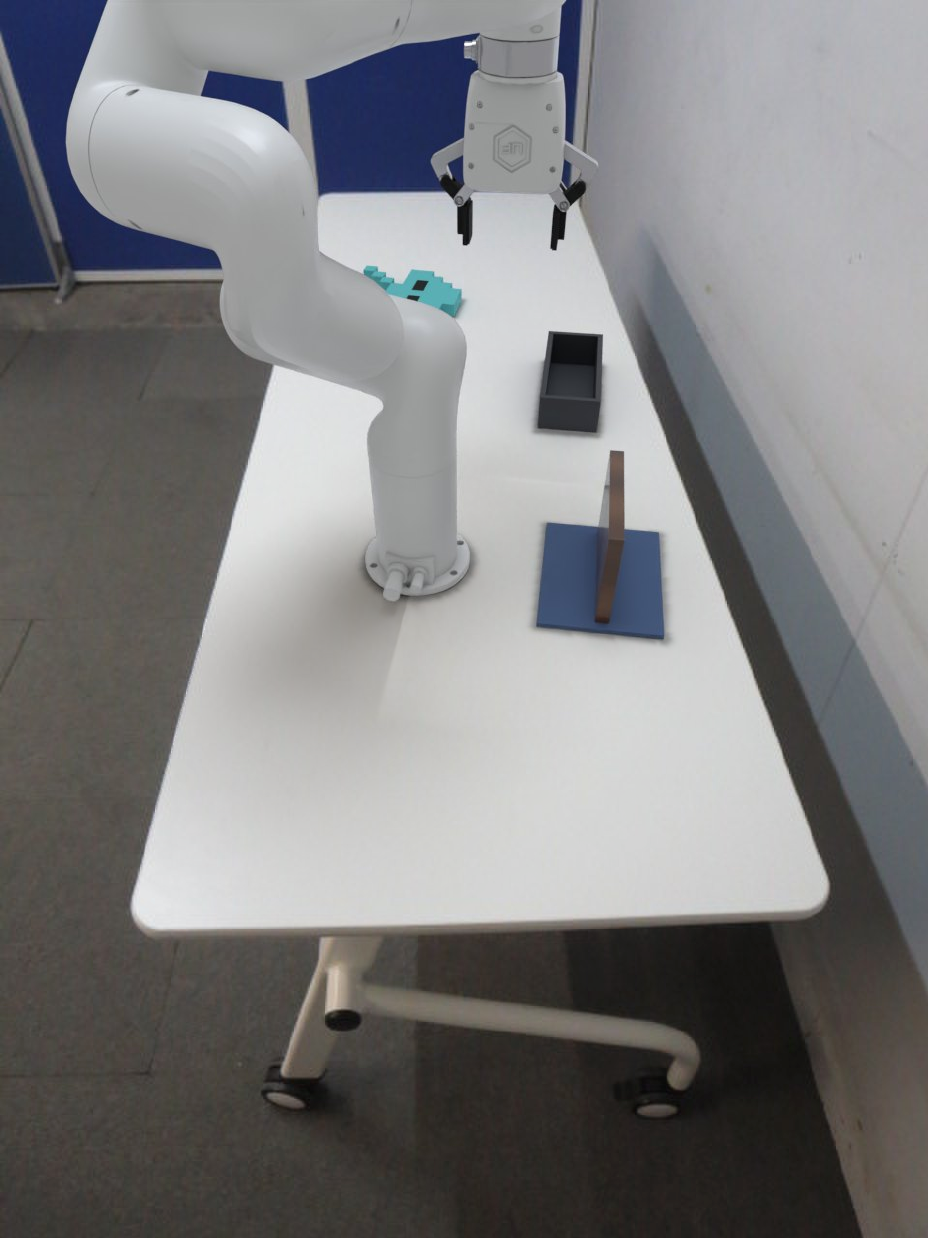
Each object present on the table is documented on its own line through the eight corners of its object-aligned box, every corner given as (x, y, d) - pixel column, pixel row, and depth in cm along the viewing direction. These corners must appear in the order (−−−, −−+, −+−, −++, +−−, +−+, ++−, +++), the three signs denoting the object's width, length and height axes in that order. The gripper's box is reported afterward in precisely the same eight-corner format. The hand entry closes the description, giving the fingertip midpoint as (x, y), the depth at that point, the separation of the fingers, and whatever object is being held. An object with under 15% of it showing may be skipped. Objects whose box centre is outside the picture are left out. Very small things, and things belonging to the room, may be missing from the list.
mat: (663, 639, 88) (664, 635, 88) (536, 626, 89) (536, 623, 89) (658, 535, 101) (659, 531, 100) (546, 525, 102) (547, 522, 101)
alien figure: (335, 322, 142) (446, 333, 139) (334, 310, 140) (445, 321, 137) (367, 276, 155) (468, 285, 153) (366, 265, 154) (468, 274, 151)
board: (609, 623, 89) (624, 540, 80) (594, 622, 89) (608, 538, 80) (610, 532, 100) (624, 450, 91) (597, 531, 100) (610, 449, 92)
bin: (596, 435, 116) (600, 401, 112) (537, 431, 117) (539, 397, 113) (598, 366, 131) (603, 334, 127) (546, 363, 132) (548, 330, 128)
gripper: (422, 63, 75) (427, 252, 87) (609, 69, 73) (588, 261, 85) (435, 46, 80) (438, 226, 92) (610, 51, 78) (590, 234, 90)
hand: (510, 243), depth 89 cm, fingers open, 9 cm apart
